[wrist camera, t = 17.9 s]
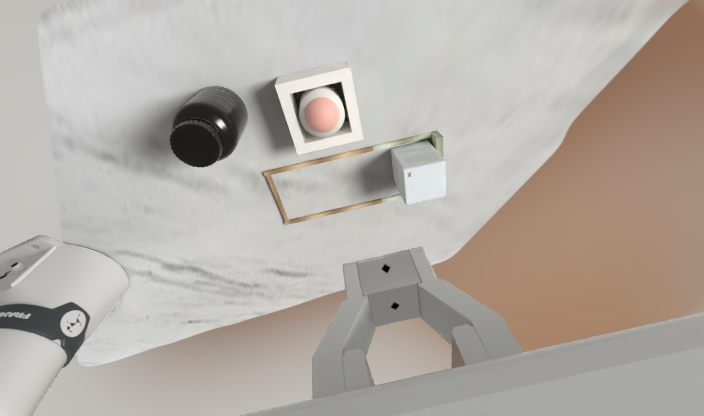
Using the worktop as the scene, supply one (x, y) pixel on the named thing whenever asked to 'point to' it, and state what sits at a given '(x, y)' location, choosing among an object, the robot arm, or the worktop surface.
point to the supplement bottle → (208, 126)
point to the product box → (419, 172)
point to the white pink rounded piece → (321, 111)
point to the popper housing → (312, 80)
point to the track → (435, 142)
